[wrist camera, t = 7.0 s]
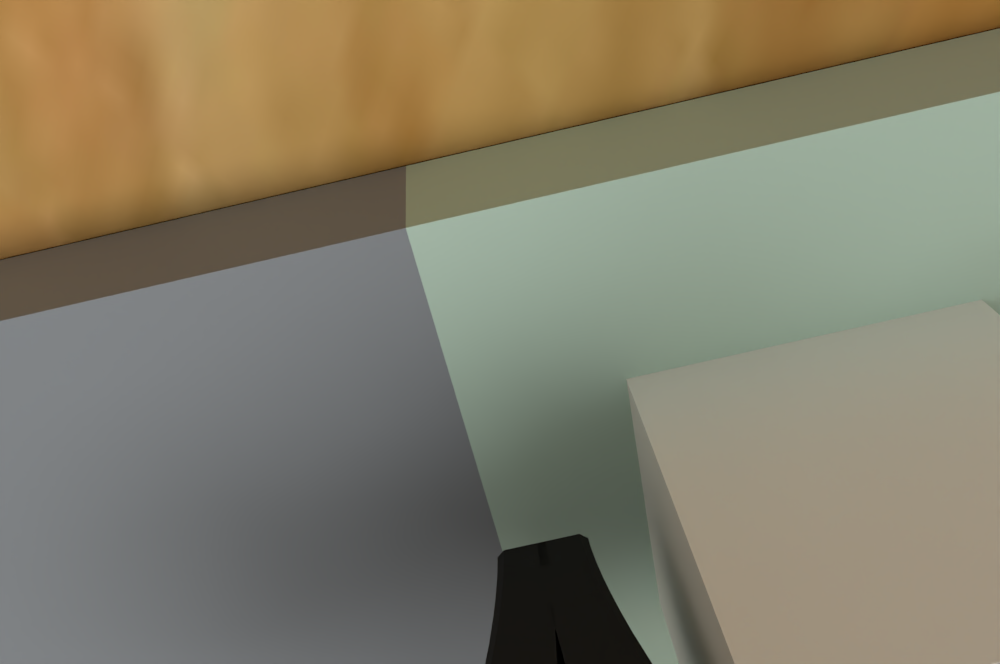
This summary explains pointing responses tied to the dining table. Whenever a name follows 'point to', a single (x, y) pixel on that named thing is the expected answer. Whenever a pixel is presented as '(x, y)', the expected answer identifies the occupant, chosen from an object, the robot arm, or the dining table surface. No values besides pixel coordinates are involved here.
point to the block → (830, 495)
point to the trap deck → (449, 363)
